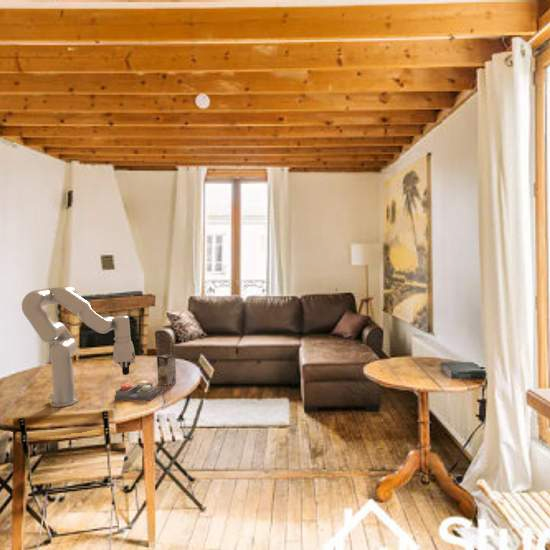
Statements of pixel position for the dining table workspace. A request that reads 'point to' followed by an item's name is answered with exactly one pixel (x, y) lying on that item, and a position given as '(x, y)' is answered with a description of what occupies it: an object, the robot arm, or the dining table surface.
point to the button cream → (143, 383)
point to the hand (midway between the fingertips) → (126, 374)
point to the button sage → (146, 388)
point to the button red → (125, 387)
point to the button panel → (138, 393)
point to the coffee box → (166, 369)
